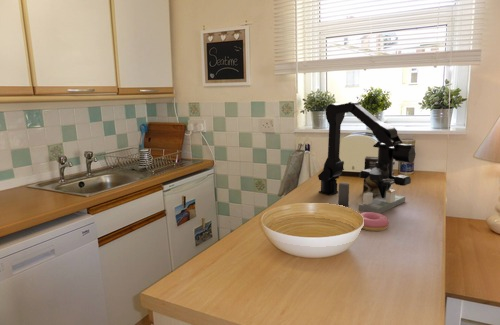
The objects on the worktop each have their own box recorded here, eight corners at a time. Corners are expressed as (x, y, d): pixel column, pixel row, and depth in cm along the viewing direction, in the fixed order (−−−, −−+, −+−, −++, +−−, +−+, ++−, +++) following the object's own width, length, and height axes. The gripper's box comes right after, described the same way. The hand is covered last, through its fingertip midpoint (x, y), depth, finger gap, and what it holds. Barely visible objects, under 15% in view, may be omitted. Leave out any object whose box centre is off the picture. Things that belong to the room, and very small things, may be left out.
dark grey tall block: (336, 205, 148) (336, 184, 146) (341, 203, 150) (342, 182, 148) (344, 207, 145) (345, 185, 143) (350, 205, 147) (351, 183, 145)
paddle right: (383, 195, 152) (384, 185, 152) (387, 193, 155) (388, 184, 154) (388, 196, 151) (388, 186, 150) (392, 194, 153) (392, 185, 153)
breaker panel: (358, 209, 142) (358, 204, 142) (386, 197, 157) (386, 192, 156) (377, 214, 137) (378, 209, 136) (404, 201, 151) (405, 196, 151)
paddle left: (362, 203, 142) (363, 193, 141) (367, 201, 144) (368, 191, 143) (367, 204, 140) (368, 194, 140) (372, 202, 143) (373, 192, 142)
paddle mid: (385, 202, 144) (386, 191, 143) (389, 200, 146) (390, 189, 145) (390, 203, 142) (391, 192, 141) (394, 201, 144) (395, 190, 144)
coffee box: (362, 194, 162) (364, 158, 159) (363, 190, 168) (365, 155, 165) (384, 196, 159) (386, 159, 155) (385, 192, 164) (387, 157, 161)
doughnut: (389, 234, 119) (390, 222, 118) (354, 231, 122) (354, 219, 121) (388, 222, 129) (388, 211, 128) (355, 219, 132) (356, 208, 131)
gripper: (353, 159, 144) (351, 197, 147) (399, 166, 131) (396, 208, 134) (367, 155, 152) (365, 191, 155) (412, 161, 138) (409, 201, 141)
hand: (383, 197), depth 146 cm, fingers closed
